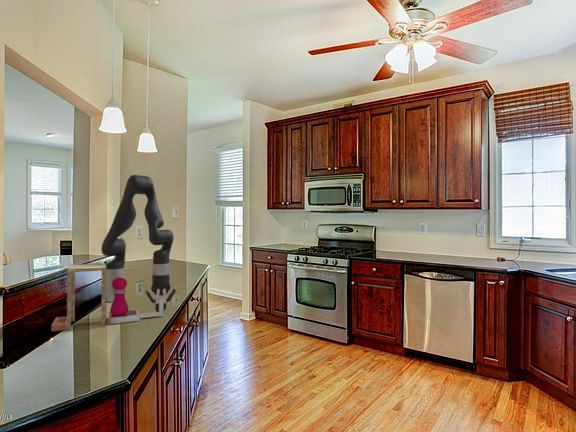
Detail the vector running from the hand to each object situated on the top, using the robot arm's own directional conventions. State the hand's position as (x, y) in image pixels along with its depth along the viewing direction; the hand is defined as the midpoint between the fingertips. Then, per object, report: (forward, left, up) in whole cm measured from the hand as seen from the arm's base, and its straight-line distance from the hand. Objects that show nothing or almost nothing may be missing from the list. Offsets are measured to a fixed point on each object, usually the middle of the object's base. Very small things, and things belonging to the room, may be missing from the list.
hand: (160, 311), depth 163 cm
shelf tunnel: (0, -29, -2) cm, 29 cm away
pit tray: (0, -39, -2) cm, 39 cm away
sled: (0, -10, -2) cm, 10 cm away
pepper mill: (0, -17, -2) cm, 17 cm away
